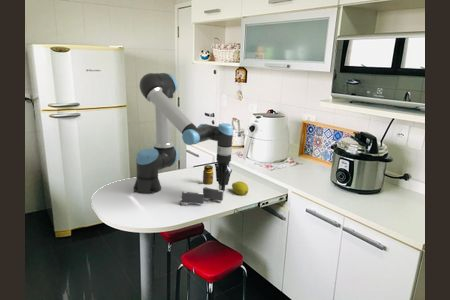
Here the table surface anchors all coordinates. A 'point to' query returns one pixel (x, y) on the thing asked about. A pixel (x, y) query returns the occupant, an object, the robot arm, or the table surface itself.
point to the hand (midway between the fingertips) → (221, 195)
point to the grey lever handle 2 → (212, 194)
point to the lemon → (240, 188)
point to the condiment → (207, 175)
